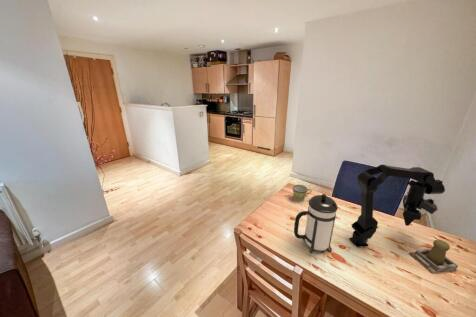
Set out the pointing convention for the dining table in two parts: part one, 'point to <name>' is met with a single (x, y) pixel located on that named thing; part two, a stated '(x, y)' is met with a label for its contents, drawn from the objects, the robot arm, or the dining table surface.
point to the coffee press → (318, 222)
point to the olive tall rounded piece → (438, 252)
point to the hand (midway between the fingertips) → (406, 220)
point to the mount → (429, 265)
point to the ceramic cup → (300, 192)
